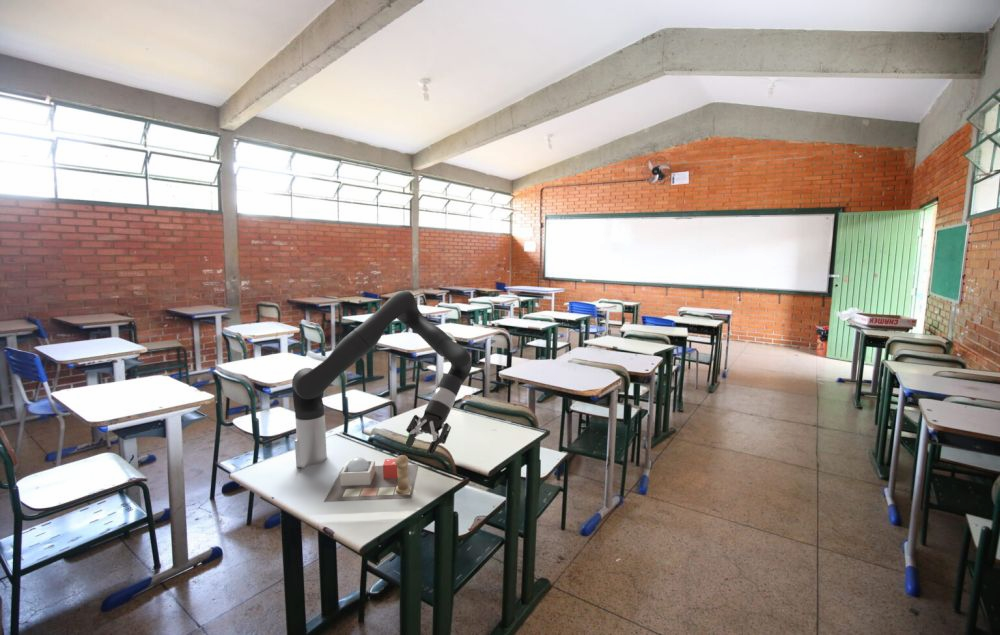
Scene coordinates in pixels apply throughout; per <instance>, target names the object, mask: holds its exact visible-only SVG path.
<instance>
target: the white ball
mask: <svg viewBox="0 0 1000 635" xmlns="http://www.w3.org/2000/svg"><path fill="white" fill-rule="evenodd" d="M367 460H368V459H366V458H364V457H361V456H357V457H353V459H351V460H349V461H350V463H349V465H348V472H363V471H368V469H369V464H368V462H367Z"/></svg>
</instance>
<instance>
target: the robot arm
mask: <svg viewBox="0 0 1000 635" xmlns="http://www.w3.org/2000/svg"><path fill="white" fill-rule="evenodd" d="M396 319H397V320H398V321H400V323H402V324H404V325H405V326H407V327H408V328H410V329H411V330H412V331H414V332H415V333H416V334H417V335H418V336H419V337H420V338H422V339H423V341H425V343H427V345H429V347H431V348H432V349H433V350H434V351H435V352H436V354H438V355H439V356H440V357H442V358H446V359H447V361H449V363H450V365H451V366H450V368H449V371H448V372H447V373H445V374H444V375H443V376H442V377H441V379H440V382H439V383H438V386H437V387H436V389H435V390H434V391H433V394H432V396H431V397H430V400H429V402H428V403H427V405H426V408H425V410H424V411H423V412H424V414H423V415H422V417H420V416H418V414H415V415H414V416H412V418H411V420H410V422H409V424H408V426H407V428H406V432H407V433H408V435H409V434H410V435H409V437H408V436H407V437H408V439H407V438H406V439H407V441H406V440H405V441H406V447H407V448H411V447H412V445H413V443H415V442H416V438H417V437H418V436H419V435H422V434H429V435H431V436H432V440H433V441H431V442H430V445H429V446H428V448H427V451H426V453H427V454H428V455H429V456H433V454H435V452H436V449H437V448H438V446H439V445H440V444H443V445H444V444H445V443H446V441H447V440H448V437H449V434H450V432H451V429H452V426H451V425H450V424H449V423H448V422H446V420H447V419H448V416H449V415H450V412H451V411H452V408H453V407H454V404H455V402H456V398H457V396H458V393H459V391H460V389H461V386H462V385H463V383H464V382H465V381H466V379H467V378H468V376H469V375H470V373H471V370H472V366H473V364H472V358H471V354H470V353H469V351H468V350H467V349H466V348H465V347H463V346H462V345H461V344H459V343H457V342H456V341H454V340H453V339H452V338H451V337H450V336H449V335H448V334H447V333H446V332H445V331H444V330H443V329H441V328H440V327H438V326H437V325H435V324H433V323H431V322H430V321H429V320H428V319H426V317H425V316H424V315H423V314H422V312H421V311H420V309H419V306H418V303H417V301H416V298H415V296H414V294H413V293H412V292H411V291H409V290H400V291H398V292H396V293H394V294H393V295H392V296H390V298H388V299H387V300H386V301H385V302H384V304H382V306H380V307H379V308H378V309H377V310H376V311H375V312H374V313H373V314H372V315H370V316H369V317H368V318H367V319H366V320H365V321H364V322H362V323H361V324H359V325H358V326H357V327H355V328H354V329H353V330H352V331H351V332H349V333H348V334H347V335H346V336H344V337H343V338H342V340H340V341H339V342H338V344H337V345H336V346H335V348H334V349H333V350H332V351H331V353H330V354H329V355H328V356H327V358H326V359H324V360H323V361H322V362H320V363H319V364H318V365H316V366H314V368H311V367H304V368H301V369H299V370H297V372H295V374H294V375H293V377H292V380H291V381H292V382H291V386H292V397H293V398H292V399H293V408H294V418H295V429H296V430H295V431H296V438H295V440H294V449H295V450H294V451H295V452H294V453H295V465H296V468H300V469H305V466H314V465H315V466H316V465H318V464H321V463H323V462H325V461H326V460H327V459H328V455H327V437H326V436H327V435H326V433H327V432H326V419H325V418H326V415H325V405H324V401H323V397H322V396H323V394H322V393H323V392H324V391H325V390H326V389H328V387H329V386H330V385H332V384H333V382H334V381H335V380H336V379H338V378H339V376H340V375H342V374H343V373H344V372H345V371H347V370H348V369H349V368H351V367H352V366H353V365H355V363H358V361H359V360H360V359H361V358H363V357H364V356H366V355H367V354H368V353H370V351H371V350H372V349H374V347H376V345H377V344H378V342H380V339H381V337H382V336H383V335H384V333H385V331H386V329H387V328H388V327H389V325H391V323H393V322H394V321H395V320H396ZM440 430H441V432H439V431H440Z"/></svg>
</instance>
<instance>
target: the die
mask: <svg viewBox="0 0 1000 635" xmlns="http://www.w3.org/2000/svg"><path fill="white" fill-rule="evenodd" d="M396 459H397V458H385V459H384V461H383V464H382V466H383V479H384V478H398V474H397V465H396Z"/></svg>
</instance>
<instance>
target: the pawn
mask: <svg viewBox="0 0 1000 635" xmlns="http://www.w3.org/2000/svg"><path fill="white" fill-rule="evenodd" d="M395 459H396V465H397V474H398V486H397V487H396V493H398V494H406V493H408V492H409V491H410V485H408V465H409V461H410V460H409V458H408V456H407V455H405V454H400V455H398V456H397V458H395Z"/></svg>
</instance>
